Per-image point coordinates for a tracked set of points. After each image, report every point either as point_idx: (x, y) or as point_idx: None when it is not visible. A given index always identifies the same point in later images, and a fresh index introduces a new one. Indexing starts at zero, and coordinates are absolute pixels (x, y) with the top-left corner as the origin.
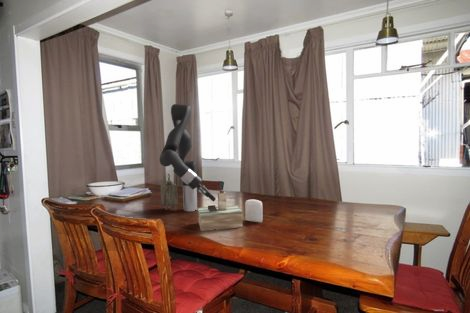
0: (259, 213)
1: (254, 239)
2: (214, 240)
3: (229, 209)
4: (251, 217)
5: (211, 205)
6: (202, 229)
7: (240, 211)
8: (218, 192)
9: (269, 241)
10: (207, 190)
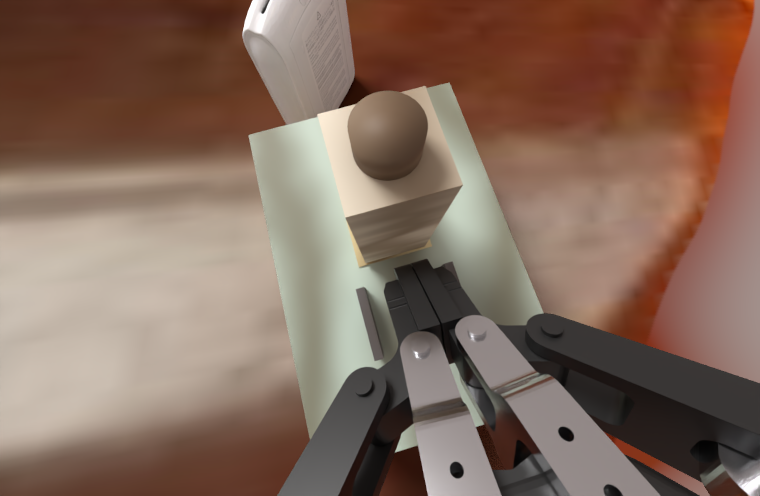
0: (349, 33)
1: (599, 96)
2: (647, 262)
3: None
4: (334, 96)
5: (368, 324)
6: None
7: (450, 96)
8: (367, 203)
9: (612, 45)
10: (568, 405)
